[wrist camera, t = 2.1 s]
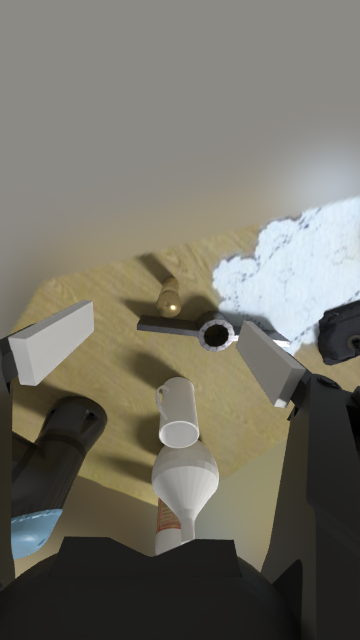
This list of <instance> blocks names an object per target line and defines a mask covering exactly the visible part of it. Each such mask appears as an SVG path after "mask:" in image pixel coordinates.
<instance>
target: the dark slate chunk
mask: <svg viewBox="0 0 360 640" xmlns="http://www.w3.org/2000/svg"><path fill="white" fill-rule="evenodd" d="M319 328H320V334H319V337H318V344H319V351H320V353H321V356H323V359H324V362H325V364H326V365H334V364H338V363H341V362H345V361H347V360H349V359H352V358H355V357H357V356H359V355H360V301H356V302H354V303H351V304H348V305H345V306H342V307H339V308H336V309H332V310H330V311H327V312H325V313H324V317H323V318H322V319H321V320H319Z"/></svg>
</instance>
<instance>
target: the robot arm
mask: <svg viewBox="0 0 360 640" xmlns="http://www.w3.org/2000/svg"><path fill="white" fill-rule="evenodd" d="M93 331H94V320H93V301H87V300H82V301H80V302H78V303H76V304H74V305H72V306H70V307H68V308H66V309H64V310H62V311H60V312H58V313H56V314H54V315H52V316H50V317H48V318H46V319H44V320H42V321H40V322H38V323H35V324H32V325H29V326H27V327H25V328H23V329H21V330H19V331H17V332H15V333H13V334H11V335H9V336H7V337H5V338H3V339H1V340H0V640H360V386H357V387H356V389H355V390H354V392H353V393H352V392H348V391H345V390H342V388H341V387H340V385H338V384H337V383H336V382H335V381H333V380H331V379H330V378H328V377H325V376H323V375H320V374H312V373H311V372H310V371H309V370H308V369H307V368H306V367H304V366H303V365H302V364H301V363H299V361H297V360H296V359H295V358H294V357H293V356H292V355H291V354H289V353H288V352H286V351H285V350H283V349H282V348H281V347H280V346H279V345H278V344H277V343H275V342H274V341H273V340H272V339H271V338H270V337H269V336H268V335H266V334H265V333H264V332H263V331H262V330H261V329H260V328H258V327H257V326H256V325H255V324H254V323H253V322H251V321H243V324H242V328H241V331H240V334H239V337H238V341H237V344H236V349H237V350H238V352H239V353H240V355H241V356H242V358H243V359H244V361H245V363H246V364H247V366H248V367H249V369H250V370H251V372H252V373H253V375H254V376H255V378H256V380H257V381H258V383H259V384H260V386H261V387H262V389H263V390H264V392H265V393H266V395H267V397H268V398H269V400H270V401H271V403H272V404H273V406H274V407H285V408H286V407H287V405H288V404H289V402H290V400H291V401H292V402H293V403H294V404H295V406H294V408H293V410H292V412H291V414H290V415H289V417H288V419H287V420H289V421H290V419H291V421H290V427H289V433H288V439H287V445H286V451H285V457H284V463H283V469H282V475H281V481H280V486H279V492H278V498H277V505H276V510H275V516H274V522H273V528H272V534H271V540H270V545H269V549H268V553H267V555H266V558H265V561H264V563H263V566H262V570H261V573H260V572H259V571H258V570H256V569H255V568H254V567H253V566H252V565H250V564H249V563H247V562H246V561H244V560H243V559H241V558H240V557H238V556H237V554H236V549H235V544H234V540H214V539H194V540H191V541H189V542H187V543H184V544H182V545H180V546H177V547H175V548H173V549H170V550H168V551H166V552H164V553H161V554H159V555H157V556H154V557H149V556H146V555H144V554H141V553H140V552H137V551H136V550H133V549H131V548H129V547H127V546H125V545H123V544H121V543H119V542H117V541H115V540H113V539H111V538H108V537H64V539H63V542H62V544H61V547H60V549H59V552H58V553H57V554H54V555H52V556H50V557H48V558H46V559H44V560H43V561H40V562H38V563H37V564H36V565H34V566H32V567H31V568H30V569H28V570H27V571H25V572H24V573H22V574H21V575H20V576H19V577H17V578H16V579H15V567H14V559H18V558H22V557H25V556H28V555H30V554H32V553H34V552H36V551H37V550H39V549H40V548H41V547H42V546H43V544H44V543H45V542H46V541H47V539H48V538H49V536H50V534H51V532H52V530H53V528H54V526H55V524H56V522H57V520H58V518H59V516H60V515H61V513H62V511H63V510H62V509H63V506H64V504H65V502H66V499H67V497H68V495H69V493H70V490H71V488H72V486H73V483H74V481H75V479H76V477H77V474H78V472H79V470H80V468H81V465H82V463H83V461H84V458H85V456H86V454H87V452H88V451H89V450H90V449H91V447H92V446H93V445H94V444H95V442H96V441H97V440H98V438H99V437H100V436H101V435H102V433H103V431H104V429H105V426H106V424H107V415H106V413H105V411H104V410H103V408H102V407H101V406H100V405H98V404H97V403H95V402H93V401H91V400H89V399H86V398H82V397H67V398H63V399H61V400H59V401H57V402H56V403H55V404H54V405H53V407H52V408H51V409H50V410H49V412H48V413H47V415H46V418H45V420H44V423H43V425H42V428H41V431H40V433H39V436H38V438H37V439H36V441H35V442H34V443H32V442H31V441H29V440H27V439H26V438H24V437H22V436H20V435H19V434H17V433H15V432H13V431H12V387H13V386H12V383H11V380H12V379H14V378H15V377H16V376H18V377H19V381H20V384H21V385H32V386H36V385H37V384H39V383H40V382H41V381H42V380H43V379H44V378H45V377H46V376H47V375H48V374H49V373H50V372H51V371H52V370H53V369H54V368H55V367H56V366H58V365H59V364H60V363H61V362H62V361H63V360H64V359H65V358H66V357H67V356H68V355H69V354H70V353H71V352H72V351H73V350H74V349H75V348H77V347H78V346H79V345H80V344H81V343H82V342H83V341H84V340H85V339H86V338H87V337H88V336H89V335H90V334H91V333H92V332H93Z"/></svg>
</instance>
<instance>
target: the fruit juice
mask: <svg viewBox="0 0 360 640" xmlns="http://www.w3.org/2000/svg"><path fill="white" fill-rule="evenodd" d="M180 545H181V524H180V521H179V519H178V517H177V516H176V515H175V513H174V512H173V511H172V510H171V509H170V508H169V507H168V506H167V505H166V504H165V503H164V502H163V501H162V500H161V499H160V498H159V500H158V515H157V530H156V556H157V555H159V554H161V553H164V552H166V551H168V550H170V549H173V548H175V547H177V546H180Z"/></svg>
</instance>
